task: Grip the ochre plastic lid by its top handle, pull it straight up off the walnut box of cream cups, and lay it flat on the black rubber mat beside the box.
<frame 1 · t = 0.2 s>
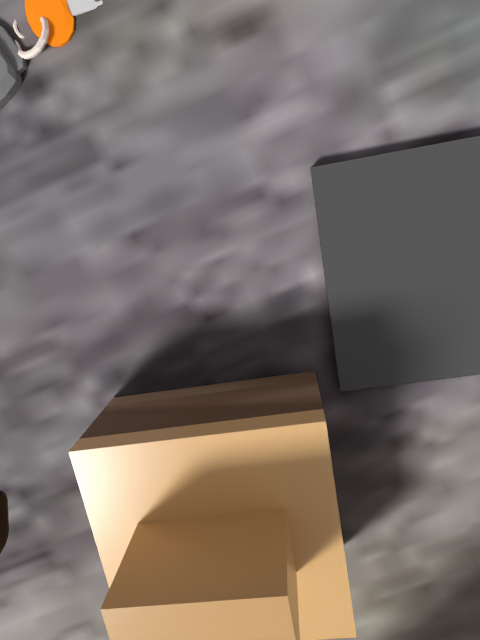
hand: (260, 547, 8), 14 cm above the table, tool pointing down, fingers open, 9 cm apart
rubber mat: (430, 268, 20), on the table
walnut box: (229, 474, 23), on the table
lid: (222, 517, 20), point 3 cm above the table, touching walnut box
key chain: (28, 48, 19), on the table
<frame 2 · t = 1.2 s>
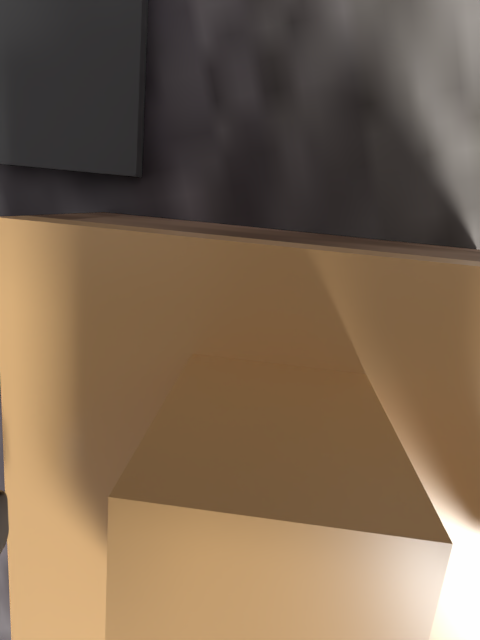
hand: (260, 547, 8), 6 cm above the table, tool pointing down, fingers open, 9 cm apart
walnut box: (266, 402, 13), on the table
lid: (263, 461, 10), point 3 cm above the table, touching walnut box
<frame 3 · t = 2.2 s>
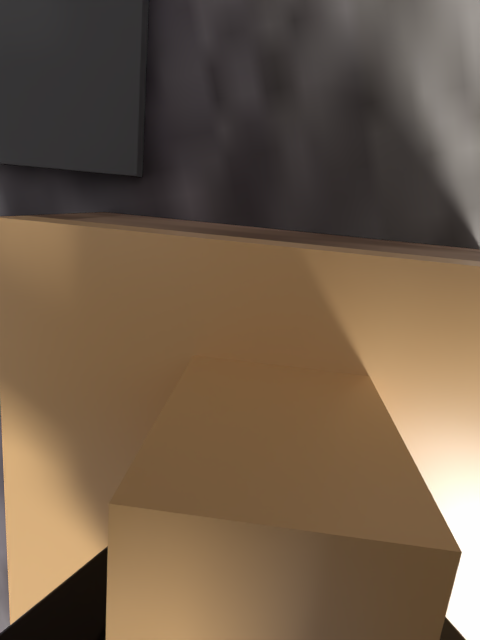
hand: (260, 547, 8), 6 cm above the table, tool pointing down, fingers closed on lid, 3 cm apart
walnut box: (268, 403, 13), on the table
lid: (264, 463, 10), point 3 cm above the table, touching gripper, walnut box
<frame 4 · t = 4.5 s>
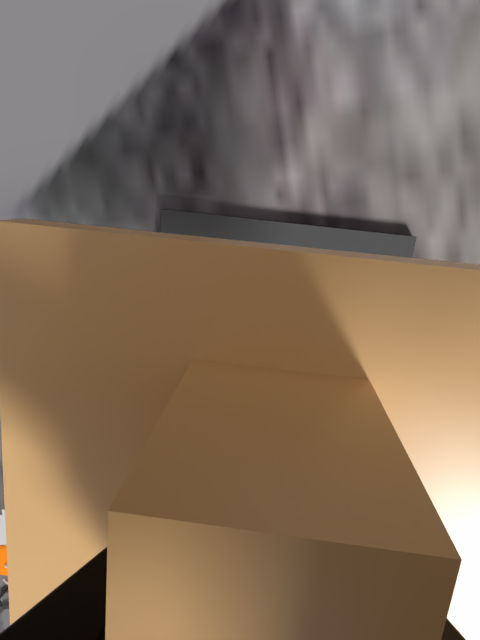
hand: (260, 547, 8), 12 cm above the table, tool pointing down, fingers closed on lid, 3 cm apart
rubber mat: (273, 329, 19), on the table
lid: (264, 466, 10), point 10 cm above the table, touching gripper
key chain: (26, 574, 25), on the table
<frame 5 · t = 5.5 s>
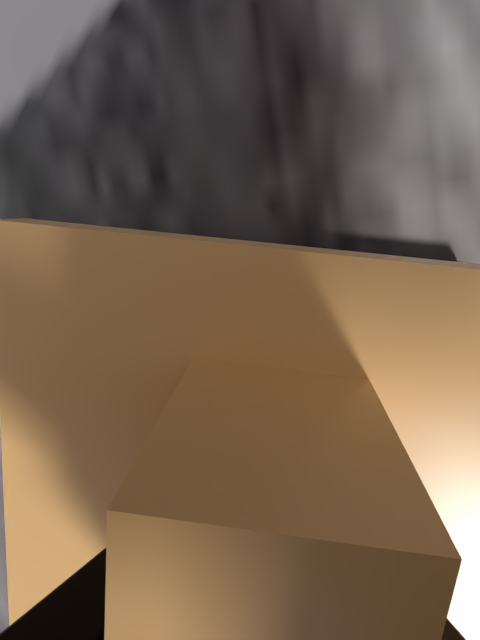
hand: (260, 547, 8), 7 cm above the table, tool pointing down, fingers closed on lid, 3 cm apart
lid: (264, 466, 10), point 4 cm above the table, touching gripper
when the fingers open (5 cm above the table, at t = 6.6 s): lid drops 1 cm, resting on rubber mat.
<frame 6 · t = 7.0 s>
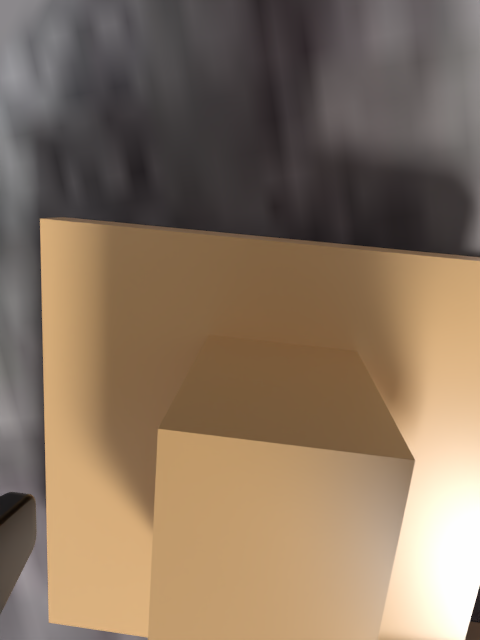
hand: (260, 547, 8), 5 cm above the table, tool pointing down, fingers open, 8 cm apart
lid: (268, 433, 12), resting on rubber mat
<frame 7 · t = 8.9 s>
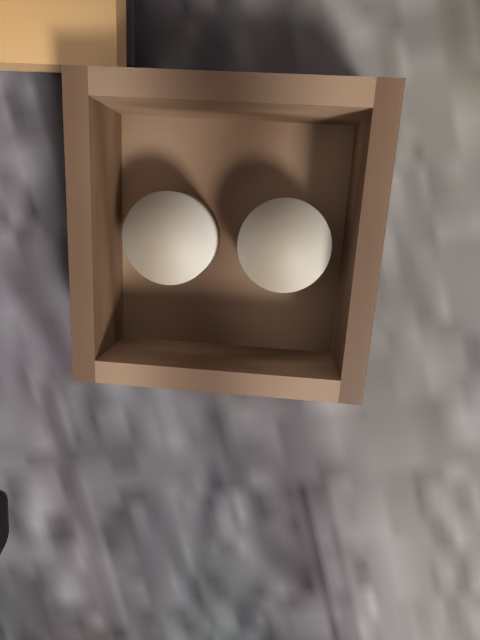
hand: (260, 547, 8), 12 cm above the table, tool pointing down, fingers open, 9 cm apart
walnut box: (233, 237, 18), on the table
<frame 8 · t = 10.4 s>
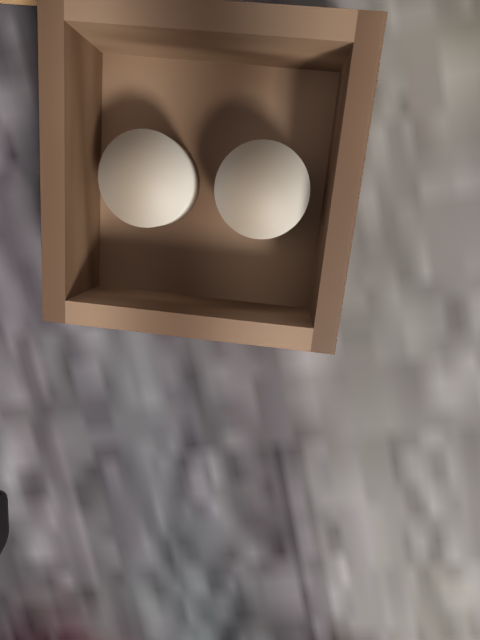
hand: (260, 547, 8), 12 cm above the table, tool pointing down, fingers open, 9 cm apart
walnut box: (214, 187, 18), on the table
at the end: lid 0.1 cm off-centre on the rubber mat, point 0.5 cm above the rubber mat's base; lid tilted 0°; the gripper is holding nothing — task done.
